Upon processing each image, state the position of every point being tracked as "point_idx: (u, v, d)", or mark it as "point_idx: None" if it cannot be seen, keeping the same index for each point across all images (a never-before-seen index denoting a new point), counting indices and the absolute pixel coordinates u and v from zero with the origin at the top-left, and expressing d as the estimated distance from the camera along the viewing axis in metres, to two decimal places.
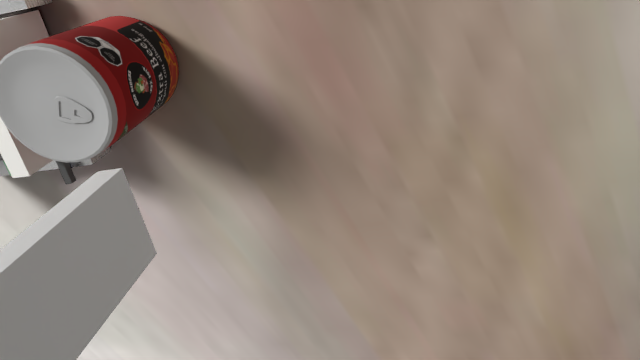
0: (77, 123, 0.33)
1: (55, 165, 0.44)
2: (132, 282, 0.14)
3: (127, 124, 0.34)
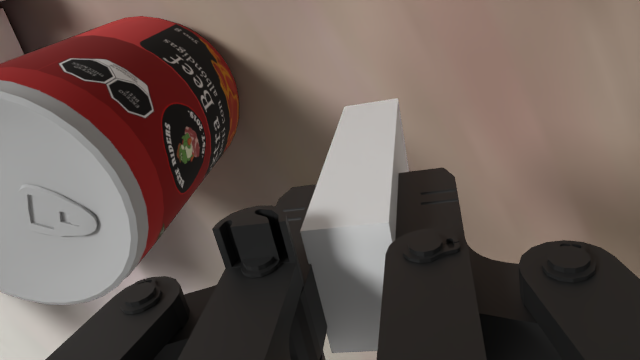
0: (67, 236, 0.16)
1: None
2: None
3: (164, 226, 0.18)
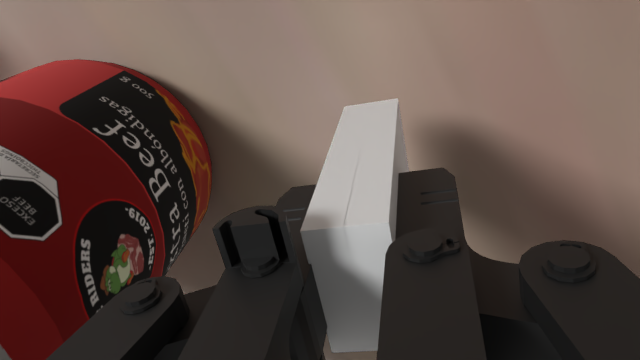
0: None
1: None
2: None
3: None
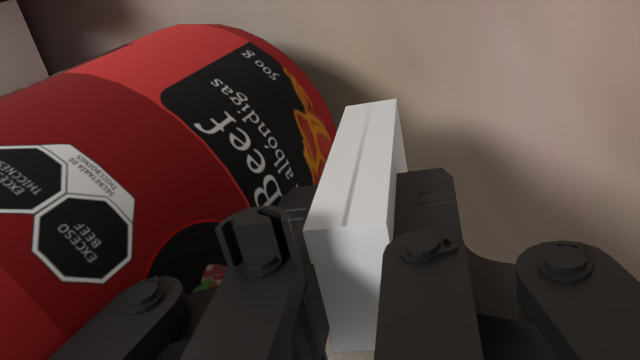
0: None
1: None
2: None
3: None
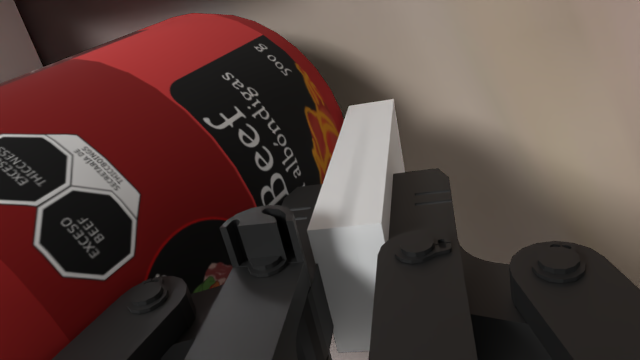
0: None
1: None
2: None
3: None
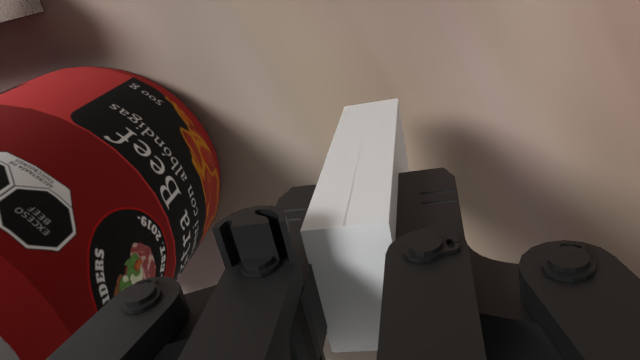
0: None
1: None
2: None
3: None
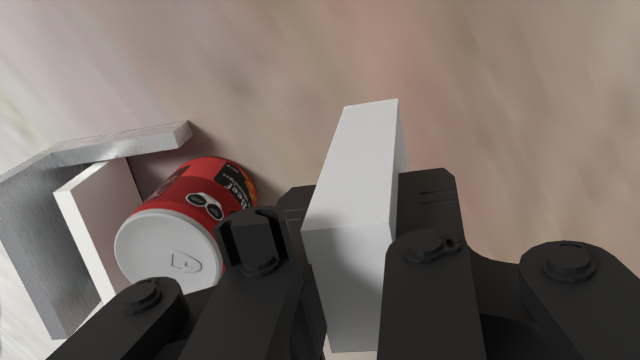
0: (187, 272, 0.37)
1: None
2: None
3: None
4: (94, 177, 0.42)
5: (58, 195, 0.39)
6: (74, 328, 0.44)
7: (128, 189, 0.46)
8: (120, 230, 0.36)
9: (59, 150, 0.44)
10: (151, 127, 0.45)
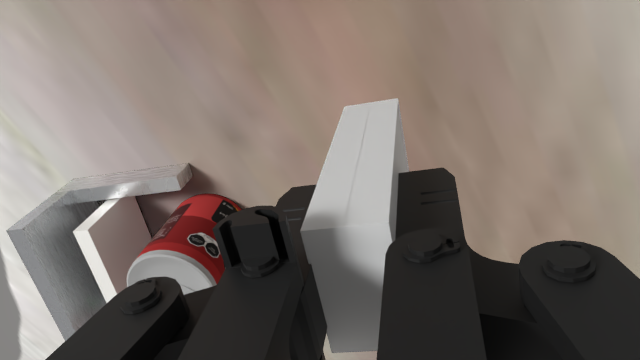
0: None
1: None
2: None
3: None
4: (107, 215, 0.48)
5: (78, 233, 0.46)
6: None
7: (136, 221, 0.52)
8: (132, 267, 0.43)
9: (76, 189, 0.50)
10: (156, 168, 0.51)
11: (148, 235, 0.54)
